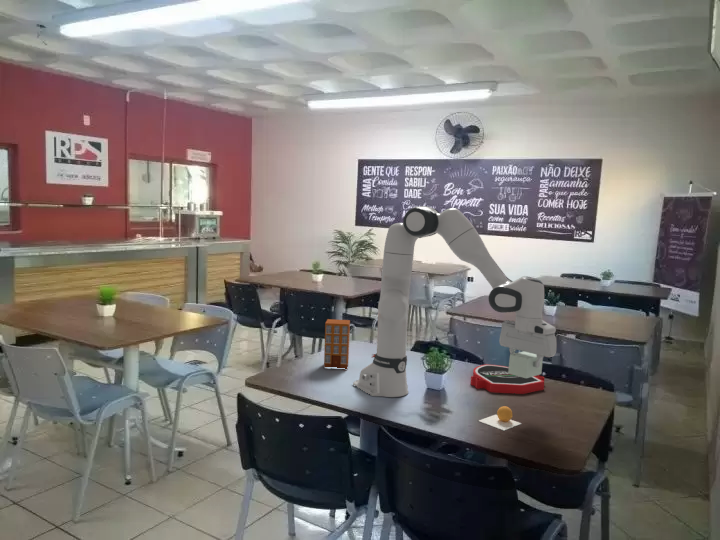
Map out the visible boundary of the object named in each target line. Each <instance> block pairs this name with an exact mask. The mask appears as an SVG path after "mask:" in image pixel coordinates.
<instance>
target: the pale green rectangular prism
mask: <svg viewBox="0 0 720 540" xmlns="http://www.w3.org/2000/svg"><path fill="white" fill-rule="evenodd" d="M537 359H538V358H537V354H533V353H529V352H525V351H519V352H515V354H510V353H509V361H508V367H509V371H508V373H509V374H512V375H516V376H519V377H523V378H529V377H533V376H536V375H539V376H541V375H542V372H543V371H542V370H543V360H544V358H543V359H542V360H541V362H540V366H539V367H538V368H536V367H533V362H534V361H536V360H537Z"/></svg>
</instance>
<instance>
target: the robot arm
mask: <svg viewBox="0 0 720 540" xmlns="http://www.w3.org/2000/svg"><path fill="white" fill-rule="evenodd" d="M436 234H438V235H440V236H441V237H442V239H443V240H444V241H445V243H446V245H447V246H448V247H449V249H450V250H451V251H452V253H453V254H454V255H455V256H456V257H457V258H458V259H460V261H463V262H466V263H467V264H470V265H471V266H474V267H475V268H476V269H477V270H479V272H480V273H481V274H482V275H483V277H484V278H485V280H486V281H487V282H488V284H489V285H490V286H491V288H492V290H491V291H490V292H489V294H488V304H489V306H490V307H491V309H492V310H493V311H496V312H497V313H500V314H501V313H503V314H504V313H514V312H515V321H513V320H508V319H507V320H504V321H503V322H502V323H501V330H500V333H499V345H500V346H501V347H505V348H509V350H508V351H509V355H510V354H515V353H516V352H517V350H518V351H520V352H523V351H525V352H529V353H533V354H537V358H538V359H537V360H536V361H534V362H533V367H536V368H538V367H539V366H540V362H541V360H542V359H543V360H544V357H545V358H551V357H552V358H553V357H555V355H556V354H557V336H556V335H555V333H556V331H557V329H556V327H555V325H552V324H551V323H549V322H546V321H545V320H543V319H544V318H543V309H544V306H545V305H544V304H545V286H544V283H543V282H542V281H541V280H540V279H537V278H535V277H532V276H525V275H524V276H521V277H520V278H518V279H516V280H511V279H510V278H509V277H508V276H507V275H506V274H505V273H504V271H503V270H502V269H501V267H500V266H499V265H498V264H497V262H496V261H495V260H494V258H493V257H492V256H491V254H490V252H489V250H488V248H487V247H486V245H485V243H484V241H483V239H482V237H481V235H480V234H479V233H478V231H477V229H476V228H475V226H474V225H473V224H472V222H471V221H470V220H469V219H468V218H467V217H466V215H465V214H464V213H463V212H462V211H461V210H460V209H458V208H454V207H450V208H446V209H445V210H443V211H442V212H439V211H438V209H436V208H434V207H430V206H426V205H424V206H423V205H421V206H414V207H412V208H410V209H408V210H407V211H406V213H405V214H404V217H403V221H402V222H396V223H394V224H391V225H390V226H389V227H388V229H387V233H386V237H385V243H384V246H383V247H384V249H383V257H382V269H381V279H380V280H381V284H380V296H379V301H378V305H377V336H376V337H377V338H376V339H377V341H376V353H375V354H373V353H372V355H371V358H372V362H371V363H370V364H368V365H367V366H365V367H364V368H362V369H361V371H360V373H359V379H358V380H357V379H356V380H354V382H352V385H353V386H354V385H355V386H357V387H358V388H357V387H356V388H357V389H359V388H360V389H361V390H360V389H359V390H360V391H362V390H363V391H362V392H364V391H365V392H364V393H366V394H367V393H368V395H369V394H370V395H369V396H371V397H387V398H398V397H403V396H406V395H408V394H409V389H408V387H409V385H408V380H407V378H408V377H407V363H408V356H407V342H408V341H407V339H408V321H409V301H410V291H411V284H412V283H411V281H412V273H413V264H414V263H413V261H414V254H415V253H414V251H415V245H416V242H417V240H418V239H421V238H422V239H423V238H428V237H433V236H434V235H436ZM355 386H354V387H355Z"/></svg>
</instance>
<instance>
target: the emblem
mask: <svg viewBox="0 0 720 540" xmlns="http://www.w3.org/2000/svg"><path fill="white" fill-rule="evenodd" d="M508 371H509V366H505V365H498V364H488V363H487V364H486V363H485V364H481V365H478V366H476V367H474V368H473V371H472V373H473V374H472V375H471V376H470V385H471V386H473V387H474V388H475V389H477V390H479V389H480V388H481V389H485V390H486V391H488V392H489V393H497V394H498V393H500V394H514V393H515V395H516V394H517V395H524V394H528V393H532V392H533V393H534V392H538V391H539V392H540V391H543V390H545V377H544V376H542V375H536V376H533V377H529V378H523V377H519V376H516V375H512V374H509V373H508Z"/></svg>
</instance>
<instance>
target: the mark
mask: <svg viewBox="0 0 720 540" xmlns="http://www.w3.org/2000/svg"><path fill="white" fill-rule="evenodd" d="M478 422H479V423H481V424H484V425H487V426H491V427H493V428H496V429H498V430H501V431H503V432H504V431H507V430H510V429H512V428H514V427H517V426H518V427H519V426H520V425H522V423H521V422H519V421H515V420H512V419H511V420H509V421H507V422H503V421H501V420H500V419H499V418H498V416H497V414H493V415H490V416H488V417H485V418H481V419H479V420H478Z"/></svg>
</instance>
